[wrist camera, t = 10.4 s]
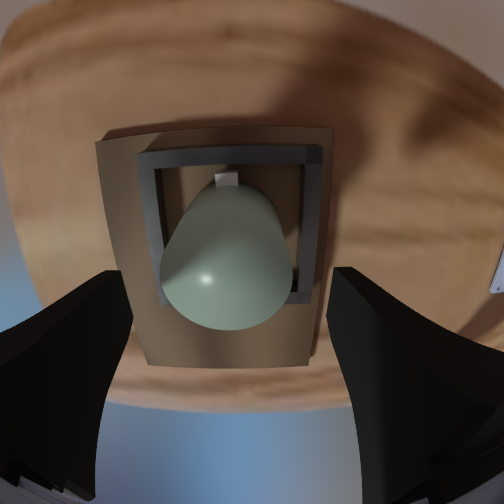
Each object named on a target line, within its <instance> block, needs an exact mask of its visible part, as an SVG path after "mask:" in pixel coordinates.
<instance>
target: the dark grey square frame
mask: <svg viewBox="0 0 504 504" xmlns="http://www.w3.org/2000/svg"><path fill="white" fill-rule="evenodd" d="M136 157H137V167H138V176H139V184H140V192H141V200H142V207H143V214H144V220H145V227H146V233H147V239H148V244H149V250H150V255H151V261H152V266H153V271H154V276H155V281H156V285H157V290H158V294H159V299H160V303H161V305H166V306H173V305H172V304H171V303H170V301H169V300H168V298H167V297H166V295H165V293H164V290H163V288H162V284H161V280H160V262H161V258H162V255H163V252H164V250H165V248H166V246H167V244H168V242H169V241H170V238H169V231H168V223H167V216H166V207H165V199H164V189H163V180H162V169H161V168H170V167H184V166H200V165H222V164H300V193H299V216H298V235H297V252H296V267H295V280H292V287H291V290H290V293H289V295H288V298H287V299H286V301H285V303H284V304H283V305H285V304H309V303H311V297H312V289H313V280H314V271H315V261H316V251H317V240H318V229H319V217H320V203H321V187H322V169H323V147H322V146H320V145H318V144H298V143H236V144H211V145H195V146H181V147H169V148H159V149H150V150H144V151H141V152H139V153H137V154H136Z"/></svg>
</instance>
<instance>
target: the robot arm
mask: <svg viewBox="0 0 504 504" xmlns="http://www.w3.org/2000/svg"><path fill="white" fill-rule="evenodd" d="M490 292H491V293H492V294H494V293H500V292H504V249H503V252H502V255H501V259H500V262H499V264H498V267H497V270H496V273H495V276H494V278H493V281H492V284H491V286H490ZM133 318H134V316H133V312H132V309H131V306H130V302H129V299H128V295H127V292H126V288H125V285H124V281H123V277H122V273H121V270H106V271H104V272H101V273H100V274H98V275H96V276H94V277H93V278H91V279H89V280H88V281H86V282H85V283H83V284H82V285H80V286H79V287H77V288H76V289H74V290H73V291H71V292H70V293H68V294H67V295H65V296H64V297H62V298H61V299H59V300H57V301H56V302H54V303H53V304H51V305H50V306H48V307H47V308H45V309H43V310H42V311H40V312H39V313H37V314H35V315H34V316H32V317H30V318H29V319H27V320H25V321H23V322H21V323H19V324H17V325H16V326H14V327H12V328H9V329H7V330H5V331H3V332H1V333H0V504H82V503H79V502H77V501H74V500H71V499H69V498H66V497H64V496H62V495H59V494H57V493H55V492H53V491H51V490H52V489H53V490H55V491H58V492H60V493H63V492H64V493H66V494H68V495H71V496H74V497H76V498H79V499H81V500H84V501H91V500H93V499H94V498H95V462H96V449H97V441H98V434H99V428H100V421H101V417H102V412H103V408H104V403H105V399H106V396H107V393H108V390H109V387H110V384H111V382H112V379H113V376H114V374H115V371H116V369H117V366H118V364H119V361H120V359H121V356H122V354H123V351H124V349H125V346H126V344H127V341H128V338H129V334H130V331H131V326H132V322H133ZM326 318H327V323H328V328H329V333H330V337H331V341H332V344H333V347H334V350H335V353H336V356H337V359H338V362H339V365H340V368H341V371H342V374H343V377H344V380H345V383H346V386H347V389H348V392H349V395H350V399H351V403H352V407H353V412H354V418H355V424H356V429H357V437H358V444H359V451H360V461H361V473H362V496H363V497H362V498H363V501H362V504H504V352H502V351H499V350H496V349H493V348H490V347H487V346H484V345H481V344H479V343H476V342H474V341H471V340H469V339H467V338H464V337H462V336H460V335H458V334H455V333H453V332H451V331H449V330H447V329H445V328H443V327H442V326H440V325H438V324H436V323H434V322H432V321H431V320H429V319H427V318H425V317H424V316H422V315H420V314H419V313H417V312H416V311H414V310H413V309H411V308H410V307H408V306H406V305H405V304H403V303H402V302H401V301H399V300H398V299H396V298H395V297H393V296H392V295H391V294H389V293H388V292H386V291H385V290H384V289H382V288H381V287H380V286H378V285H377V284H375V283H374V282H373V281H371V280H370V279H369V278H367V277H366V276H364V275H363V274H362V273H360V272H359V271H357V270H356V269H354V268H352V267H334V269H333V276H332V283H331V289H330V296H329V302H328V308H327V314H326Z"/></svg>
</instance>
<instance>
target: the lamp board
mask: <svg viewBox="0 0 504 504" xmlns="http://www.w3.org/2000/svg"><path fill="white" fill-rule="evenodd" d="M333 132H334V129H330V128H315V127H290V126H238V127H214V128H198V129H185V130H174V131H164V132H155V133H147V134H140V135H132V136H126V137H119V138H113V139H107V140H102V141H98V142H95V144H96V154H97V162H98V170H99V177H100V184H101V191H102V197H103V203H104V208H105V214H106V219H107V224H108V229H109V234H110V238H111V243H112V247H113V252H114V256H115V260H116V264H117V268H118V270H121V273H122V277H123V281H124V285H125V288H126V292H127V295H128V299H129V302H130V306H131V309H132V312H133V316H134V318H133V323H134V327H135V330H136V333H137V336H138V338H139V341H140V344H141V347H142V350H143V353H144V355H145V358H146V361H147V363H148V365H154V366H168V367H186V368H276V367H295V366H308V364H309V358H310V353H311V347H312V341H313V335H314V329H315V322H316V316H317V309H318V302H319V295H320V288H321V280H322V272H323V264H324V255H325V246H326V237H327V226H328V215H329V203H330V190H331V175H332V157H333ZM236 143H298V144H318V145H320V146H322V147H323V169H322V187H321V203H320V217H319V229H318V240H317V251H316V261H315V271H314V280H313V289H312V297H311V303H309V304H285V305H283V306H282V307H281V308H280V309H279V310H278V311H277V312H276V313H275V314H274V315H273V316H272V317H270V318H269V319H267V320H266V321H264V322H262V323H260V324H258V325H255V326H253V327H249V328H246V329H240V330H217V329H212V328H208V327H205V326H202V325H199V324H197V323H195V322H193V321H191V320H189V319H188V318H186V317H185V316H183V315H182V314H181V313H180V312H179V311H177V310H176V309H175V308H174V306H166V305H161V303H160V299H159V294H158V290H157V285H156V281H155V276H154V271H153V266H152V261H151V255H150V250H149V244H148V239H147V233H146V227H145V220H144V214H143V207H142V200H141V192H140V184H139V176H138V167H137V157H136V154H137V153H139V152H141V151H144V150H150V149H159V148H169V147H181V146H195V145H211V144H236ZM161 169H162V180H163V189H164V199H165V207H166V216H167V223H168V231H169V238H170V239H171V237H172V235H173V233H174V231H175V230H176V228H177V226H178V224H179V222H180V221H181V219H182V217H183V215H184V214H185V212H186V210H187V208H188V207H189V205H190V203H191V202H192V200H193V199H194V197H195V196H196V195H197V194H198V193H199V192H201V191H202V190H203V189H205V188H206V187H208V186H210V185H212V184H215V183H216V182H215V173H216V172H218V171H233V170H238V181H240V182H244V183H248V184H250V185H253V186H255V187H256V188H258V189H260V190H261V191H262V192H263V193H265V194H266V195H267V196H268V197H269V199H270V200H271V201H272V203H273V205H274V207H275V209H276V211H277V214H278V218H279V221H280V225H281V228H282V232H283V235H284V239H285V242H286V246H287V250H288V253H289V257H290V261H291V265H292V270H293V280H295V267H296V252H297V235H298V216H299V193H300V164H222V165H200V166H184V167H170V168H161Z"/></svg>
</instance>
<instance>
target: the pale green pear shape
mask: <svg viewBox="0 0 504 504" xmlns="http://www.w3.org/2000/svg"><path fill="white" fill-rule="evenodd" d="M215 182H216V183H215V184H212V185H210V186H208V187H206V188H205V189H203V190H202V191H201V192H199V193H198V194H197V195H196V196H195V197H194V199H193V200H192V202H191V203H190V205H189V207H188V208H187V210H186V212H185V214H184V215H183V217H182V219H181V221H180V222H179V224H178V226H177V228H176V230H175V231H174V233H173V235H172V237H171V239H170V241H169V242H168V244H167V246H166V248H165V250H164V252H163V255H162V258H161V262H160V280H161V284H162V288H163V290H164V293H165V295H166V297H167V298H168V300H169V301H170V303H171V304H172V305H173V306H174V308H175V309H176V310H177V311H179V312H180V313H181V314H182V315H183V316H185V317H186V318H188V319H189V320H191V321H193V322H195V323H197V324H199V325H202V326H205V327H208V328H212V329H217V330H240V329H246V328H249V327H253V326H255V325H258V324H260V323H262V322H264V321H266V320H267V319H269V318H270V317H272V316H273V315H274V314H275V313H276V312H277V311H278V310H279V309H280V308H281V307H282V306H283V304H284V303H285V301H286V299H287V298H288V295H289V293H290V290H291V287H292V280H293V270H292V265H291V261H290V257H289V253H288V250H287V246H286V242H285V239H284V235H283V232H282V228H281V225H280V221H279V218H278V214H277V211H276V209H275V207H274V205H273V203H272V201H271V200H270V199H269V197H268V196H267V195H266V194H265V193H263V192H262V191H261V190H260V189H258V188H256V187H255V186H253V185H250V184H248V183H244V182H240V181H238V170H233V171H218V172H216V173H215Z"/></svg>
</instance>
